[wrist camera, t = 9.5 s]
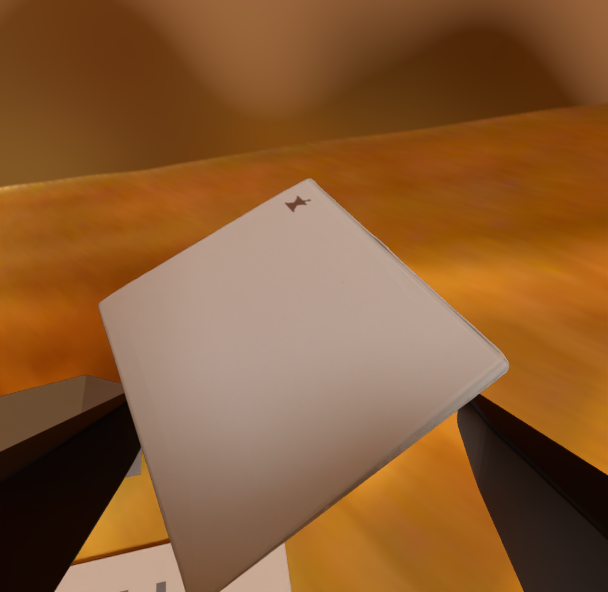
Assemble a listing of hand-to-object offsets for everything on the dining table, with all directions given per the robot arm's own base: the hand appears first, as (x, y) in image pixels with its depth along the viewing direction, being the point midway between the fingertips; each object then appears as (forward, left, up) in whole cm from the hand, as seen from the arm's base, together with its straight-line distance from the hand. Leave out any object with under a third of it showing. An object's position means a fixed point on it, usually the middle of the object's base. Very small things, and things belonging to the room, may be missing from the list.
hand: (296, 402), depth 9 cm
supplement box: (+1, 0, -10) cm, 10 cm away
